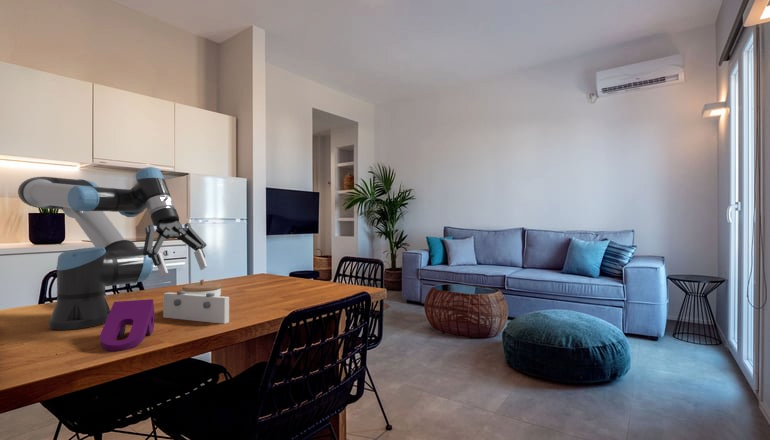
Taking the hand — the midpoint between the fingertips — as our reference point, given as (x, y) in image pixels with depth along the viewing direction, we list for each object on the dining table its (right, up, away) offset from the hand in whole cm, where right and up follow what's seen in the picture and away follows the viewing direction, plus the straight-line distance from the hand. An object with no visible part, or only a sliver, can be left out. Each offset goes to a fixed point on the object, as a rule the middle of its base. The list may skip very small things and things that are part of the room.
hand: (185, 271), depth 119 cm
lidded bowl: (-3, -17, +17) cm, 24 cm away
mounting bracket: (-6, -17, -18) cm, 25 cm away
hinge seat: (+1, -16, +4) cm, 17 cm away
